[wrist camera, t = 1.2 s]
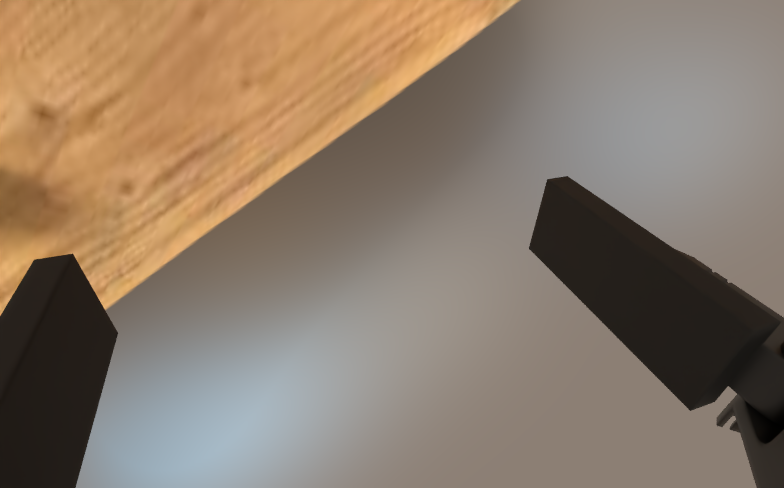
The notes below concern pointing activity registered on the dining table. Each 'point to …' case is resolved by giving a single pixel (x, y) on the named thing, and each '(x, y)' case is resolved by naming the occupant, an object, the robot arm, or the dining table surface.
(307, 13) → the dining table surface
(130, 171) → the dining table surface
